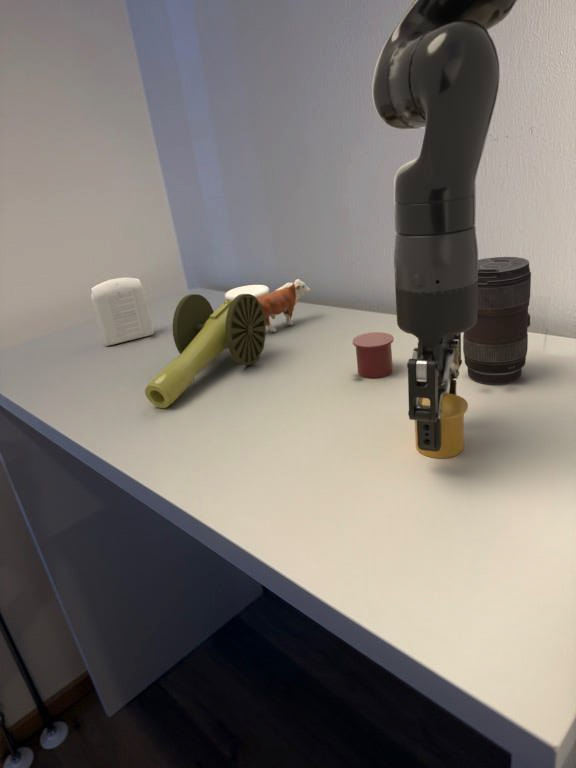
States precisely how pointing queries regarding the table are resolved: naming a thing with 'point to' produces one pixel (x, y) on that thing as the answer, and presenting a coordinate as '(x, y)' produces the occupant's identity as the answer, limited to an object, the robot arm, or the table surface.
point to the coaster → (247, 291)
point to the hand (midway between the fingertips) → (438, 428)
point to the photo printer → (121, 310)
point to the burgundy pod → (374, 354)
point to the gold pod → (448, 427)
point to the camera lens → (499, 321)
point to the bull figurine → (282, 301)
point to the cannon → (208, 341)
